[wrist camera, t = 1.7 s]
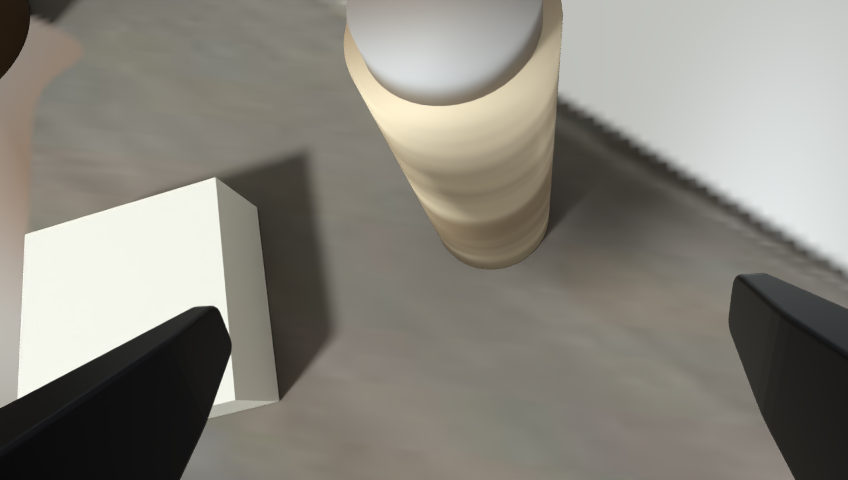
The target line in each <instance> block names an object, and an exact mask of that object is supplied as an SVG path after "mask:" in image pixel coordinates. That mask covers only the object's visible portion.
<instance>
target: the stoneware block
mask: <svg viewBox="0 0 848 480" xmlns="http://www.w3.org/2000/svg"><path fill="white" fill-rule="evenodd" d="M196 306H215V307H217V308H218V309H219V311H220V313H221V315H222V318H223V320H224V323H225V325H226V328H227V330H228V333H229V336H230V338H231V342H232V351H231V355H230V358H229V361H228V364H227V367H226V369H225V372H224V375H223V378H222V381H221V384H220V387H219V389H218V392H217V395H216V398H215V401H214V404H213V406H212V409H211V412H210V415H209V417H208V419H209V418H213V417H217V416H221V415H225V414H230V413H234V412H238V411H242V410H246V409H250V408H254V407H258V406H262V405H266V404H271V403H275V402H279V393H278V385H277V376H276V367H275V359H274V350H273V341H272V333H271V324H270V316H269V307H268V298H267V290H266V281H265V272H264V264H263V255H262V247H261V238H260V229H259V221H258V212H257V207H256V206H254V205H253V204H252V203H250V202H249V201H247V200H246V199H245V198H243V197H242V196H241V195H239V194H238V193H236V192H235V191H234V190H232V189H231V188H230V187H228V186H227V185H225V184H224V183H223V182H221V181H220V180H219V179H217V178H216V177H215V178H211V179H208V180H205V181H201V182H198V183H195V184H191V185H188V186H185V187H181V188H178V189H175V190H171V191H168V192H165V193H162V194H158V195H155V196H152V197H148V198H145V199H142V200H138V201H135V202H132V203H128V204H125V205H122V206H118V207H115V208H112V209H108V210H105V211H102V212H98V213H95V214H92V215H88V216H85V217H82V218H79V219H75V220H72V221H69V222H65V223H62V224H59V225H55V226H52V227H49V228H45V229H42V230H39V231H35V232H32V233H29V234H25V248H24V270H23V292H22V313H21V335H20V356H19V378H18V399H19V398H21V397H23V396H25V395H27V394H28V393H30V392H32V391H34V390H36V389H38V388H40V387H42V386H44V385H46V384H48V383H49V382H51V381H53V380H55V379H57V378H59V377H61V376H63V375H65V374H67V373H68V372H70V371H72V370H74V369H76V368H78V367H80V366H82V365H84V364H86V363H87V362H89V361H91V360H93V359H95V358H97V357H99V356H101V355H103V354H105V353H107V352H108V351H110V350H112V349H114V348H116V347H118V346H120V345H122V344H124V343H126V342H127V341H129V340H131V339H133V338H135V337H137V336H139V335H141V334H143V333H145V332H147V331H148V330H150V329H152V328H154V327H156V326H158V325H160V324H162V323H164V322H166V321H167V320H169V319H171V318H173V317H175V316H177V315H179V314H181V313H183V312H185V311H186V310H188V309H190V308H192V307H196Z"/></svg>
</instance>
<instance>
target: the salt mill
mask: <svg viewBox="0 0 848 480" xmlns="http://www.w3.org/2000/svg"><path fill="white" fill-rule="evenodd" d="M346 16H347V24H346V29H345V34H344V52H345V59H346V63H347V67H348V70H349V72H350V74H351V76H352V78H353V81H354V82H355V84H356V86H357V88H358V90H359V91H360V93H361V95H362V97H363V99H364V101H365V102H366V104H367V106H368V108H369V110H370V111H371V113H372V115H373V117H374V119H375V121H376V122H377V124H378V126H379V128H380V130H381V131H382V133H383V135H384V137H385V139H386V141H387V142H388V144H389V146H390V148H391V150H392V151H393V153H394V155H395V157H396V159H397V161H398V162H399V164H400V166H401V168H402V170H403V171H404V173H405V175H406V177H407V179H408V181H409V182H410V184H411V186H412V188H413V190H414V191H415V193H416V195H417V197H418V199H419V201H420V202H421V204H422V206H423V208H424V210H425V211H426V213H427V215H428V217H429V219H430V221H431V222H432V224H433V226H434V228H435V230H436V231H437V233H438V235H439V237H440V239H441V241H442V242H443V244H444V245H445V247H446V248H447V250H448V251H449V252H450V253H451V254H452V255H453V256H454V257H456V258H457V259H458V260H460V261H461V262H463V263H465V264H467V265H470V266H473V267H476V268H481V269H501V268H506V267H509V266H512V265H514V264H517V263H519V262H521V261H522V260H524V259H525V258H527V257H528V256H529V255H530V254H532V253H533V252H534V250H535V249H536V248H537V247H538V246H539V244H540V243H541V241H542V239H543V237H544V235H545V233H546V230H547V226H548V221H549V208H550V194H551V179H552V165H553V151H554V137H555V122H556V108H557V94H558V79H559V64H560V51H561V50H560V49H561V37H562V20H563V12H562V4H561V0H347V1H346Z"/></svg>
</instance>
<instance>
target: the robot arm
mask: <svg viewBox="0 0 848 480" xmlns="http://www.w3.org/2000/svg"><path fill="white" fill-rule="evenodd" d="M729 329H730V332H731V335H732V338H733V341H734V343H735V346H736V349H737V351H738V354H739V357H740V359H741V362H742V365H743V367H744V370H745V373H746V375H747V378H748V381H749V383H750V386H751V389H752V391H753V394H754V397H755V399H756V402H757V404H758V407H759V409H760V412H761V414H762V416H763V418H764V420H765V422H766V424H767V427H768V429H769V431H770V432H771V434H772V436H773V438H774V440H775V442H776V444H777V446H778V448H779V450H780V452H781V454H782V455H783V457H784V459H785V461H786V463H787V465H788V467H789V469H790V471H791V473H792V475H793V476H794V478H795V480H848V309H846V308H844V307H842V306H839V305H837V304H835V303H833V302H830V301H828V300H826V299H823V298H821V297H819V296H817V295H814V294H812V293H810V292H807V291H805V290H803V289H801V288H798V287H796V286H794V285H791V284H789V283H787V282H784V281H782V280H780V279H778V278H775V277H773V276H771V275H768V274H765V273H756V274H741V275H738V276H737V277H736V278H735V280H734V282H733V287H732V295H731V302H730V310H729ZM231 351H232V342H231V338H230V336H229V333H228V330H227V328H226V325H225V323H224V320H223V318H222V315H221V313H220V311H219V309H218V308H217V307H215V306H196V307H192V308H190V309H188V310H186V311H185V312H183V313H181V314H179V315H177V316H175V317H173V318H171V319H169V320H167V321H166V322H164V323H162V324H160V325H158V326H156V327H154V328H152V329H150V330H148V331H147V332H145V333H143V334H141V335H139V336H137V337H135V338H133V339H131V340H129V341H127V342H126V343H124V344H122V345H120V346H118V347H116V348H114V349H112V350H110V351H108V352H107V353H105V354H103V355H101V356H99V357H97V358H95V359H93V360H91V361H89V362H87V363H86V364H84V365H82V366H80V367H78V368H76V369H74V370H72V371H70V372H68V373H67V374H65V375H63V376H61V377H59V378H57V379H55V380H53V381H51V382H49V383H48V384H46V385H44V386H42V387H40V388H38V389H36V390H34V391H32V392H30V393H28V394H27V395H25V396H23V397H21V398H19V399H17V400H15V401H13V402H11V403H9V404H8V405H6V406H4V407H2V408H0V480H180V479H181V477H182V474H183V472H184V470H185V468H186V466H187V464H188V462H189V460H190V457H191V455H192V453H193V451H194V449H195V447H196V445H197V443H198V440H199V438H200V436H201V434H202V432H203V429H204V427H205V425H206V422H207V420H208V417H209V415H210V412H211V409H212V406H213V404H214V401H215V398H216V395H217V392H218V389H219V387H220V384H221V381H222V378H223V375H224V372H225V369H226V367H227V364H228V361H229V358H230V355H231Z"/></svg>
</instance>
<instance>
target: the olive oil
mask: <svg viewBox="0 0 848 480" xmlns="http://www.w3.org/2000/svg"><path fill="white" fill-rule="evenodd" d="M29 24H30V12H29V6H28V3H27V0H0V79H1V78H2V76H3V75H4V74H5V73H6V72H7V71H8V69H9V68H10V67H11V66H12V64H13V63H14V62H15V60H16V58H17V57H18V55H19V53H20V51H21V50H22V47H23V45H24V43H25V40H26V37H27V34H28V30H29Z"/></svg>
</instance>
